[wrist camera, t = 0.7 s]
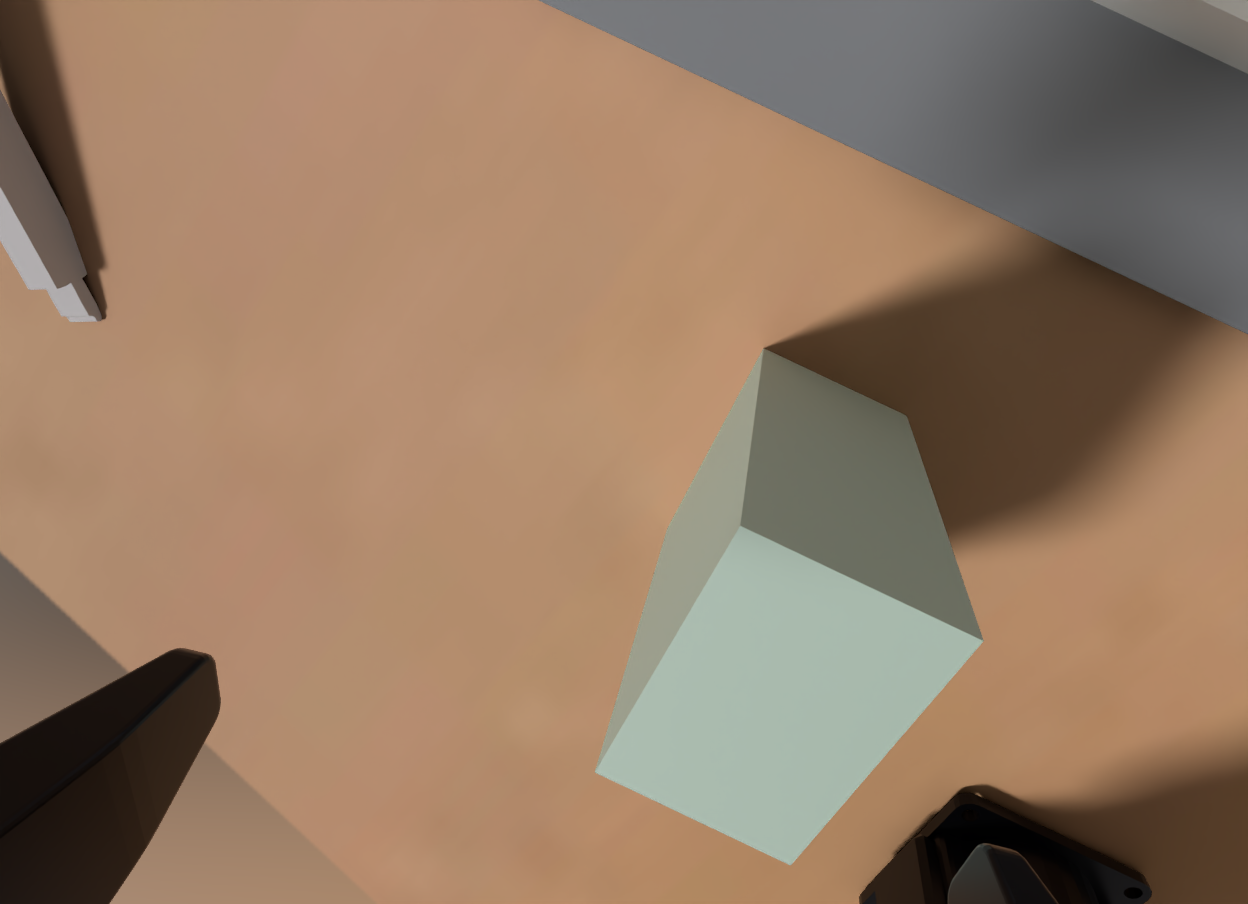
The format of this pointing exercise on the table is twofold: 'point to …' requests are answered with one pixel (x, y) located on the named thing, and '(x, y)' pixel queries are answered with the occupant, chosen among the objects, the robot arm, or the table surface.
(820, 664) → the key block
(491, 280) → the table surface
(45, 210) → the caliper
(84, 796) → the robot arm
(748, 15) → the socket tray
